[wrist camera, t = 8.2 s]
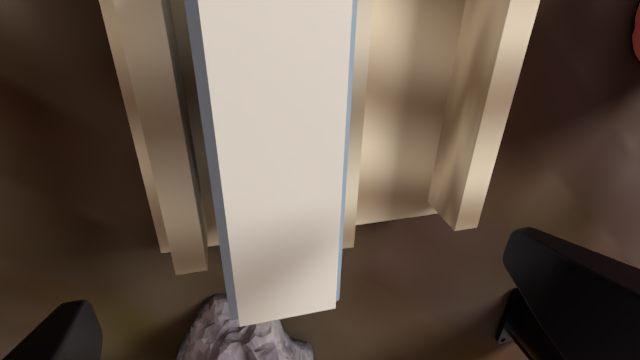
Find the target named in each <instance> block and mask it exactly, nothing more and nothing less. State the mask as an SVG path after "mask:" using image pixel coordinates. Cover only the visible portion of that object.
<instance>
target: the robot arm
mask: <svg viewBox="0 0 640 360" xmlns="http://www.w3.org/2000/svg"><path fill="white" fill-rule="evenodd" d="M503 262H504V265H505V267H506V269H507V271H508V272H509V274H510V276H511V277H512V279H513V281H514V282H515V284H516V286H517V287H518V289H517V290H515V291H514V292H513V293H512V295H511V297H510V300H509V303H508V305H507V308H506V311H505V313H504V316H503V319H502V321H501V324H500V327H499V329H498V332H497V335H496V337H495V339H496V341H497V342H498V343H499V344H503V343H507V342H511V341H514V342H515V343H516V344H517V345H518V347H519V348H520V349H521V350H522V352H523V353H524V354H525V355H526V356H527V358H528V359H529V360H640V269H638V268H636V267H633V266H630V265H628V264H625V263H623V262H620V261H617V260H615V259H612V258H610V257H607V256H605V255H602V254H599V253H597V252H594V251H592V250H589V249H586V248H584V247H581V246H579V245H576V244H574V243H571V242H568V241H566V240H563V239H561V238H558V237H555V236H553V235H550V234H548V233H545V232H543V231H540V230H537V229H535V228H532V227H525V228H519V229H515V230H513V231H512V232H511V234H510V236H509V239H508V242H507V245H506V248H505V251H504V254H503ZM101 349H102V330H101V327H100V324H99V322H98V319H97V317H96V314H95V312H94V309H93V307H92V305H91V303H90V302H89V301H88V300H78V301H72V302H66V303H63V304H61V305H60V306H58V307H57V308H56V309H55V310H54V311H53V312H52V313H51V314H50V315H49V316H48V317H47V318H45V319H44V320H43V321H42V322H41V323H40V324H39V325H38V326H37V327H36V328H35V329H34V330H33V331H32V332H31V333H30V334H29V335H28V336H26V337H25V338H24V339H23V340H22V341H21V342H20V343H19V344H18V345H17V346H16V347H15V348H14V349H13V350H12V351H11V352H10V353H9V354H7V355H6V356H5V357H4V358H3V359H2V360H100V356H101Z"/></svg>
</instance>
